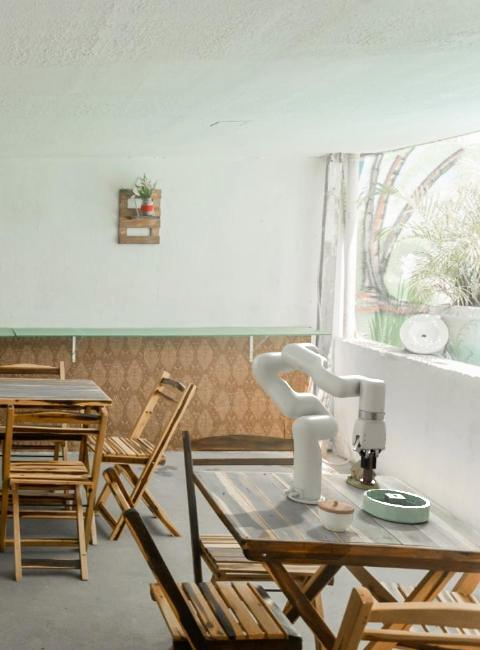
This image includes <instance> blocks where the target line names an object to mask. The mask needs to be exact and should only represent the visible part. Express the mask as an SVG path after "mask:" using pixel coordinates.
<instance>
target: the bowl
mask: <svg viewBox="0 0 480 650" xmlns="http://www.w3.org/2000/svg"><path fill="white" fill-rule="evenodd" d="M385 493H387V494H400V495H402V496H403V497H404V498H405V499H406V507H405V506H397V505H392V504H386V503H384V499H385ZM362 494H363V495H362V508H363V510H364V511H365V512H366V513H368V514H370V515H371V516H374V517H376V518H379V519H382V520H385V521H390V522H393V523H400V524H419V523H424V522H427V521H429V519H430V510H431V509H430V508H431V503H430V501H429V500H428V499H426V498H424V497H422V496H419V495H417V494H415V493H410V492H407V491H406V492H405V491H401V490H395V489H388V488H377V489H366V490H365V491H364V492H363V493H362Z"/></svg>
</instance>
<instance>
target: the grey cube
mask: <svg viewBox="0 0 480 650" xmlns="http://www.w3.org/2000/svg"><path fill="white" fill-rule="evenodd" d="M384 503H386V504H392V505H397V506H405V507H406V499H405V498H404V497H403V496H402V495H400V494H387V493H385V499H384Z"/></svg>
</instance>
